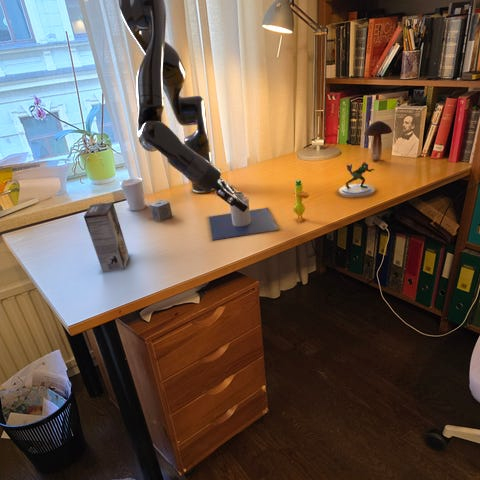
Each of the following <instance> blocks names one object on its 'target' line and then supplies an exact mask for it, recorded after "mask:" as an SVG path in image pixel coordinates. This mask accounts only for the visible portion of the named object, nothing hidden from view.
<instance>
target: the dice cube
mask: <svg viewBox="0 0 480 480" xmlns="http://www.w3.org/2000/svg"><path fill="white" fill-rule="evenodd" d="M148 205H149V210H150V213H151V218H152V219H153V220H156V221H159V222H162V221H165V220H167V219H169V218H172V217H173V213H172V212H173V211H172V207H171V202H170V201H167V200H162V199H160V200H158V201H155V202H152V203H150V204H148Z"/></svg>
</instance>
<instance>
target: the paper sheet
mask: <svg viewBox="0 0 480 480" xmlns="http://www.w3.org/2000/svg"><path fill="white" fill-rule="evenodd" d="M249 210H250V220H251V222H250V224H248V225H246V226H234V225H233V222H232V215H231V213H225V214H220V215H218V214H217V215H211V216H208V220H209V226H210V231H211V237H212V241H217V240H225V239H230V238H237V237H244V236H251V235H258V234H263V233H270V232H276V231H280V228H279V227H278V224H277V223H276V221H275V219H274V218H273V215H272V214H271V212H270V210H269V208H268V207H264V208H258V209H249Z"/></svg>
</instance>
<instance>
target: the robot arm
mask: <svg viewBox="0 0 480 480" xmlns="http://www.w3.org/2000/svg"><path fill="white" fill-rule="evenodd" d="M118 7H119V11H120V15H121V17H122V19H123V21H124V23H125V26H126V27H127V29H128V30H129V32H130V34H131V35H132V37H133V38H134V40H135V41H136V43H137V44H138V46H139V47H140V49H141V51H142V52H143V54H144V56H143V57H142V60H141V62H140V64H139V67H138V70H137V75H136V99H137V107H138V114H137V138H138V142H139V144H140V147H142V149H144V150H145V151H146V152H151V153H152V152H153V153H154V152H159V153H160V154H161V155H163V156H164V157H165V158H166V161H167V163H168V164H169V165H170V166H171V167H173V168H174V169H175V170H177V171H178V172H179V173H181V174H182V175H183V176H184V177H185V178H186V179H188V181H190V182H191V187H192V189H191V190H192V192H193V193H195V194H206V193H207V194H208V193H211V192H214V191H215V194H216V196H217V197H219V198H220V199H222V200H223V201H224V202H226V204H228V205H229V206H236V207H237V208H238V209H240V210H241V211H242V212H245V210H246V209H247V208H248V206H247V205H246V204H245V203H243V202H242V201H241V200H239V199H238V197H236V196H235V195H234V193H235V192H238V191H237V190H236V189H235V187H234V186H233V185H232V184H230V183H229V182H228V181H226V180H225V179H223V178H222V177H221V175H222V171H221V170H220V169H219V167H217V166H215V165H214V164H213V159H212V153H211V146H210V139H209V131H208V122H207V113H206V112H207V111H206V110H207V109H206V103H205V100H204V98H203V97H202V96H200V95H193V96H184V97H182V96H180V95H181V91H182V89H183V86H184V84H185V81H186V70H185V67H184V64H183V61H182V59H181V57H180V55H179V53H178V51H177V50H176V49H175V48H174V47H173V45H171V44H170V43H168V42H167V41H166V29H167V10H166V2H165V0H118ZM164 94H165V96H166V98H167V100H168V102H169V104H170V108H171V110H172V113H173V115H174V117H175V119H176V121H177V123H178V125H180V126H183V127H189V126H196V129H195V131H194V132H192V133H191V134H189V135H187V136H185V137H184V139H183V141H182V140H181V139H180V137H178V135H176V134H175V132H174V131H173V130H172V129H171V128H170V127H169V126H168V125H166V123H164V122H162V119H163V118H162V115H163V112H164V108H165V100H164V98H165V97H164ZM216 167H217V168H216ZM232 198H233V200H232V201H231V199H232Z"/></svg>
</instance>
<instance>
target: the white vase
mask: <svg viewBox="0 0 480 480" xmlns="http://www.w3.org/2000/svg"><path fill="white" fill-rule="evenodd" d="M234 195H235V196H236V197H238V199H239V200H241V201H242V202H243V203H245V204H246V205H247V206H248V208H247V209H246V210H245V212H242V211H241V210H240V209H238V208H237V207H236V206H230V205H229V206H230V214H231V215H232V222H233V225H234V226H246V225H248V224H250V222H251V220H250V210H251V209H250V202H249V201H250V200H249V197H247V196H245V193H244V192H243V191H237V192H235V193H234ZM230 200H231V201H232V200H233V198H232V197H231V198H230Z"/></svg>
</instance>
